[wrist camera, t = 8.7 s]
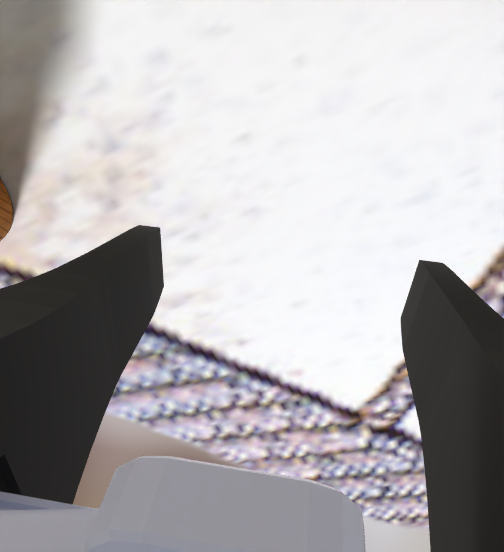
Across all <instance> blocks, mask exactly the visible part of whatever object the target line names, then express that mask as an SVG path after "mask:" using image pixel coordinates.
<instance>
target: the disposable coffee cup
mask: <svg viewBox="0 0 504 552" xmlns="http://www.w3.org/2000/svg"><path fill="white" fill-rule="evenodd" d="M12 221H13V209H12V203H11V200H10V197H9V194H8V192H7V189H6V187H5V186H4V184H3V182H2V181H1V179H0V241H1V240H2V239H3V238H4V237H5V236H6V234H7V233H8V232H9V230H10V228H11V225H12Z"/></svg>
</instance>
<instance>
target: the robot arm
mask: <svg viewBox="0 0 504 552" xmlns="http://www.w3.org/2000/svg"><path fill="white" fill-rule="evenodd" d="M163 287H164V282H163V266H162V251H161V235H160V228H158V227H150V226H142V225H139V226H136V227H134V228H132V229H130V230H128V231H126V232H124V233H122V234H121V235H119V236H117V237H115V238H114V239H112V240H110V241H108V242H106V243H104V244H103V245H101V246H99V247H97V248H95V249H94V250H92V251H90V252H88V253H86V254H84V255H82V256H80V257H78V258H76V259H74V260H72V261H70V262H68V263H66V264H64V265H62V266H60V267H58V268H55V269H53V270H51V271H48V272H46V273H44V274H41V275H39V276H36V277H33V278H31V279H28V280H26V281H23V282H20V283H17V284H14V285H11V286H8V287H4V288H1V289H0V552H365V535H364V523H363V515H362V509H360V508H359V507H358V506H357V505H356V504H355V503H354V502H352V501H351V500H350V499H349V498H348V497H347V496H345V495H344V494H343V493H342V492H341V491H339V490H338V489H336V488H333V487H330V486H327V485H324V484H321V483H318V482H315V481H312V480H309V479H303V478H297V477H291V476H285V475H279V474H273V473H267V472H261V471H255V470H249V469H243V468H237V467H231V466H225V465H219V464H213V463H207V462H201V461H195V460H189V459H183V458H177V457H171V456H141V457H138V458H135V459H133V460H132V461H129V462H127V463H125V464H123V465H121V466H119V467H117V468H116V470H115V473H114V475H113V477H112V480H111V482H110V484H109V487H108V489H107V491H106V494H105V496H104V499H103V501H102V503H101V505H100V508H88V507H83V506H77V505H72V504H73V501H74V498H75V495H76V492H77V488H78V485H79V482H80V479H81V477H82V474H83V471H84V468H85V465H86V462H87V459H88V457H89V453H90V451H91V448H92V445H93V443H94V440H95V437H96V434H97V432H98V429H99V427H100V424H101V421H102V419H103V416H104V414H105V411H106V409H107V406H108V404H109V401H110V399H111V396H112V394H113V391H114V389H115V387H116V384H117V382H118V380H119V378H120V376H121V374H122V372H123V370H124V369H125V367H126V365H127V363H128V361H129V359H130V358H131V356H132V354H133V352H134V350H135V348H136V347H137V345H138V343H139V341H140V339H141V337H142V336H143V334H144V332H145V330H146V328H147V326H148V324H149V322H150V321H151V319H152V317H153V315H154V312H155V310H156V307H157V304H158V302H159V299H160V296H161V293H162V290H163ZM401 333H402V346H403V353H404V358H405V362H406V367H407V371H408V376H409V380H410V384H411V389H412V393H413V398H414V402H415V406H416V411H417V415H418V420H419V425H420V431H421V438H422V447H423V457H424V466H425V477H426V489H427V500H428V515H429V531H430V545H431V552H504V318H502V317H501V316H500V315H499V314H498V313H497V312H495V311H494V310H493V309H492V308H491V307H490V306H489V305H488V304H487V303H485V302H484V301H483V300H482V299H481V298H480V297H479V296H478V295H477V294H476V293H475V292H474V291H473V290H472V289H471V288H470V287H468V286H467V285H466V284H465V283H464V282H463V281H462V280H461V279H460V278H459V277H458V276H457V275H456V274H455V273H454V272H453V271H452V270H451V269H449V268H448V267H447V266H446V265H445V264H443V263H439V262H431V261H423V260H419V263H418V266H417V269H416V272H415V276H414V279H413V282H412V285H411V288H410V291H409V294H408V297H407V300H406V303H405V307H404V310H403V313H402V316H401Z"/></svg>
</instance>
